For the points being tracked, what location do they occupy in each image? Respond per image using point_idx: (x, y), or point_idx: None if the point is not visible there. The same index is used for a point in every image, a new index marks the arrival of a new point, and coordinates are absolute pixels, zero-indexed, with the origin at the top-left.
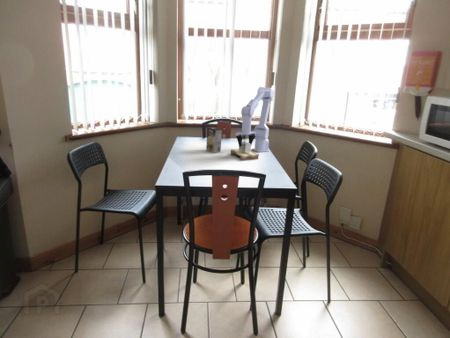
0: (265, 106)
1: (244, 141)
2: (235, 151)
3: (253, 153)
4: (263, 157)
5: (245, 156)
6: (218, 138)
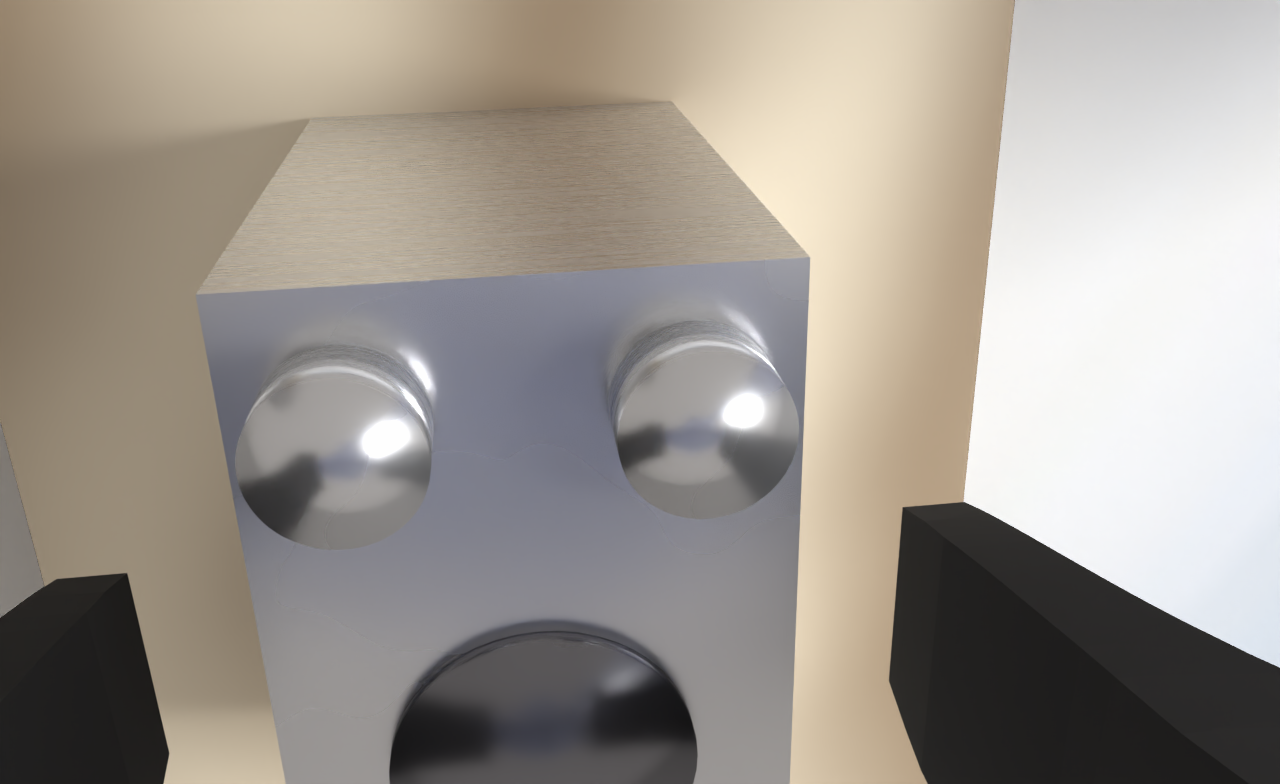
0: None
1: (668, 509)
2: (25, 247)
3: (802, 724)
4: None
5: None
6: None
